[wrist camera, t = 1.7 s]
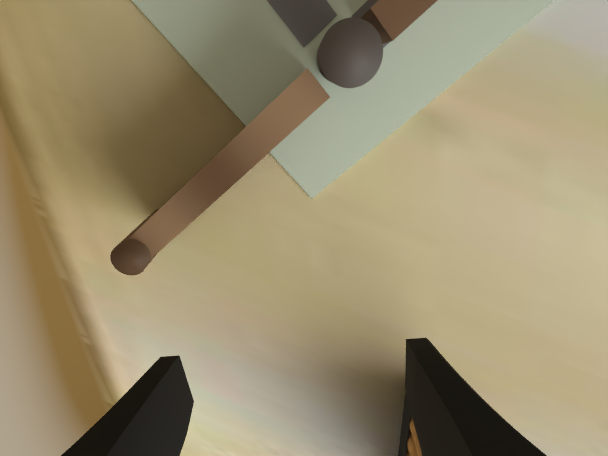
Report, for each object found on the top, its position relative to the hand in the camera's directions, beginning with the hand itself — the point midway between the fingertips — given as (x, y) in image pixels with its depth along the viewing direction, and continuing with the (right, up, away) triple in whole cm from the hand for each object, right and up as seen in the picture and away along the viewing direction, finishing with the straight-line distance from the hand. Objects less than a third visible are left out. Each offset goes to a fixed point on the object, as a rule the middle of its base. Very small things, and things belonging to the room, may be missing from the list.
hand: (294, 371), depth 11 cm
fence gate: (-3, +8, +5) cm, 10 cm away
